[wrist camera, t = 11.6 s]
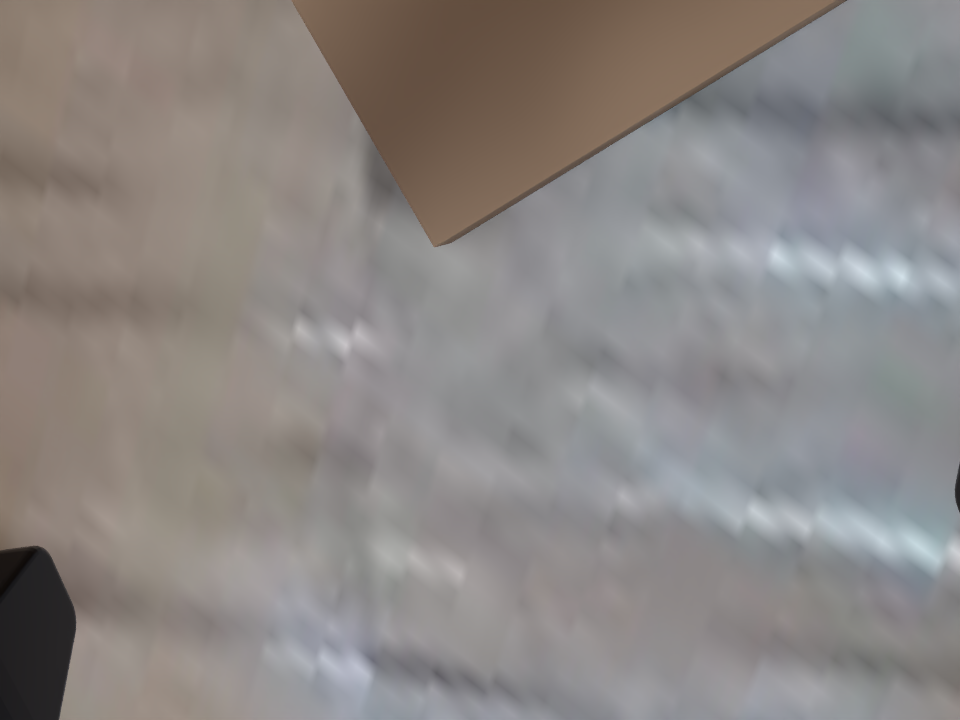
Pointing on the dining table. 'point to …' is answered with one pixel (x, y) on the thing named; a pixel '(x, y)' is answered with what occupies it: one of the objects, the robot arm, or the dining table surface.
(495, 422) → the dining table surface
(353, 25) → the walnut board
